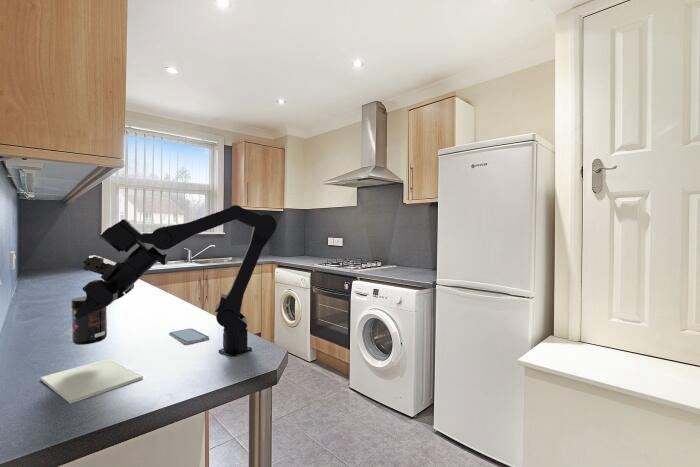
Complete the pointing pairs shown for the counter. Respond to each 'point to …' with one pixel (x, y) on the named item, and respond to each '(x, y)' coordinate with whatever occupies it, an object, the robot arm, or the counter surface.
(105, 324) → the supplement container
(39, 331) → the counter surface
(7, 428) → the counter surface
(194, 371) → the counter surface
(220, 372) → the counter surface
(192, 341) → the smartphone
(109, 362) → the mat
